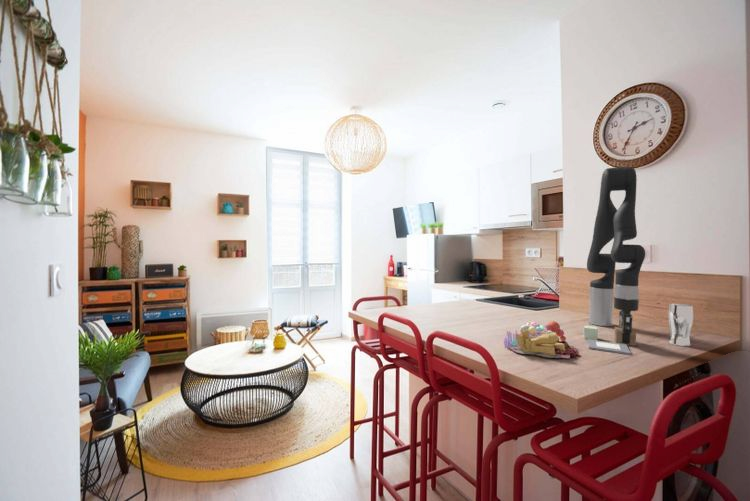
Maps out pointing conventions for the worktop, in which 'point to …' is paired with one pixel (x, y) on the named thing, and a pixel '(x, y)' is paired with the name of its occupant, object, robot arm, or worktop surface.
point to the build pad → (608, 346)
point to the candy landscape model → (540, 341)
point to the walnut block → (619, 336)
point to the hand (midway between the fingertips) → (624, 340)
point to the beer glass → (680, 323)
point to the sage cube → (590, 332)
